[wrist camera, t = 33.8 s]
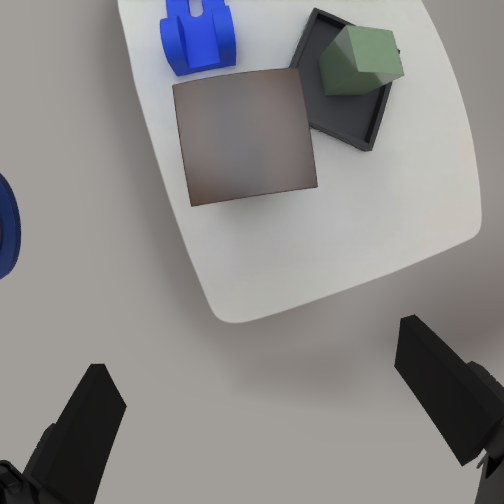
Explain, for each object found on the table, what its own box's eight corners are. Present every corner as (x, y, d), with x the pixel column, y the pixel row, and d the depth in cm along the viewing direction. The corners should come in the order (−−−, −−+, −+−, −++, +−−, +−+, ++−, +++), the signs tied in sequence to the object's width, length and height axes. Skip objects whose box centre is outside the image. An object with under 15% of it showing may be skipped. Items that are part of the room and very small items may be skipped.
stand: (212, 187, 39) (191, 206, 20) (202, 124, 36) (172, 85, 17) (277, 177, 39) (318, 187, 20) (268, 114, 36) (298, 67, 17)
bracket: (235, 65, 34) (236, 39, 25) (177, 76, 34) (162, 54, 25) (218, -22, 29) (215, -54, 20) (166, -11, 29) (154, -41, 20)
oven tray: (271, 111, 36) (274, 108, 34) (310, 14, 32) (314, 7, 29) (364, 151, 38) (371, 150, 36) (392, 55, 34) (400, 50, 31)
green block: (325, 95, 35) (358, 71, 24) (317, 58, 34) (346, 24, 22) (362, 95, 35) (404, 75, 24) (354, 59, 34) (392, 30, 22)
